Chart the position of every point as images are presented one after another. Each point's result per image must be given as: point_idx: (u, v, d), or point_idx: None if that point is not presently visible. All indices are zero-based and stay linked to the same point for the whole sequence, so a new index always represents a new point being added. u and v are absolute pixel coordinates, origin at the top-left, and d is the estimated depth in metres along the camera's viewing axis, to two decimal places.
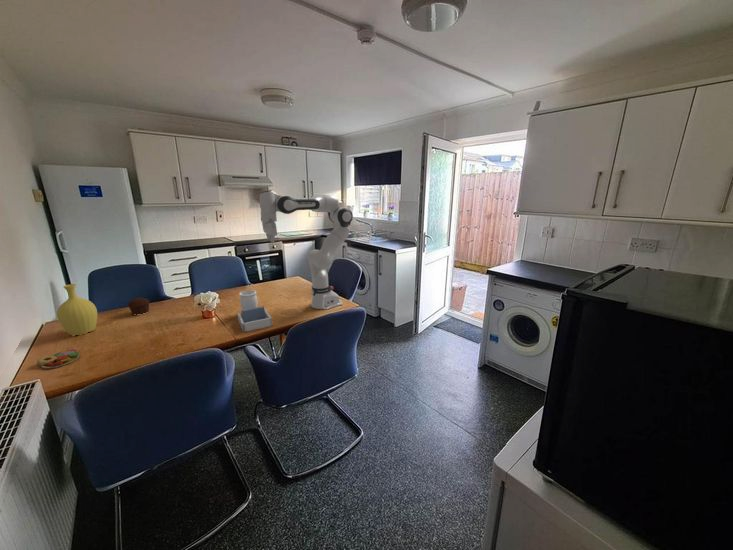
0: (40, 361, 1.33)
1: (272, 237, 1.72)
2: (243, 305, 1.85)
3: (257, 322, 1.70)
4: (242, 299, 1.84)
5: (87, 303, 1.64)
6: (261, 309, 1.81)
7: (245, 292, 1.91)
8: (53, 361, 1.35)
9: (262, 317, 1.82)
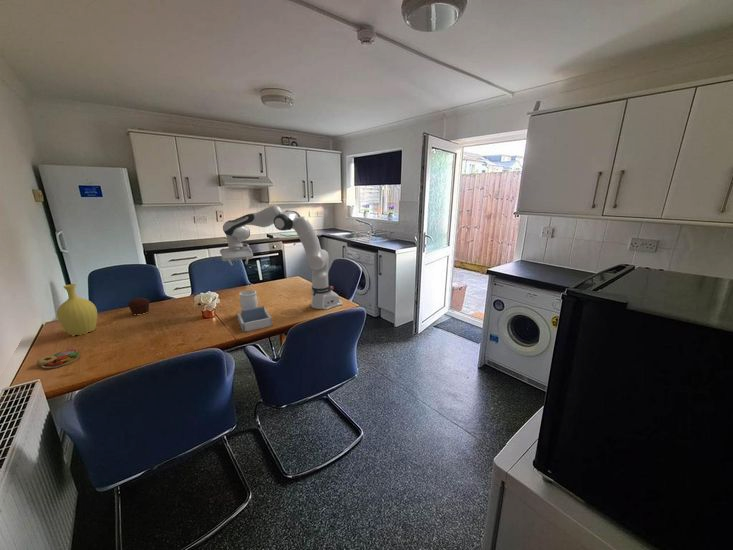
0: (40, 361, 1.33)
1: (228, 261, 2.00)
2: (243, 305, 1.85)
3: (257, 322, 1.70)
4: (242, 299, 1.84)
5: (87, 303, 1.64)
6: (261, 309, 1.81)
7: (245, 292, 1.91)
8: (53, 361, 1.35)
9: (262, 317, 1.82)
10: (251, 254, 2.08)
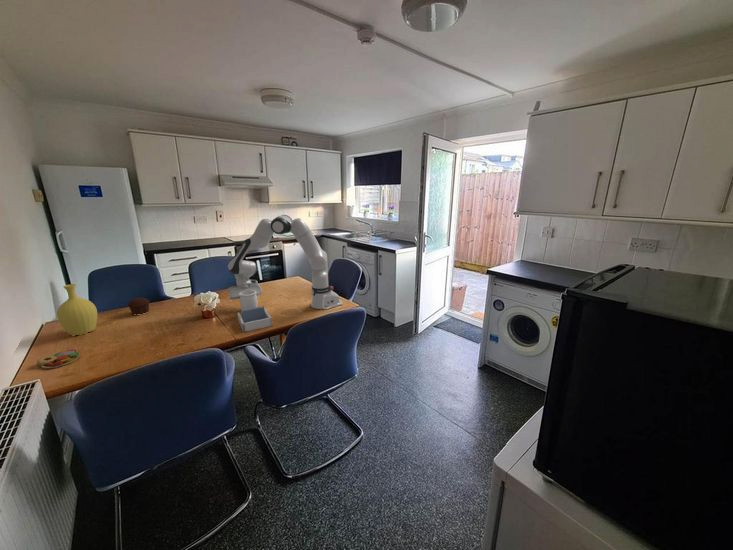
0: (40, 361, 1.33)
1: None
2: (243, 305, 1.85)
3: (257, 322, 1.70)
4: (242, 299, 1.84)
5: (87, 303, 1.64)
6: (261, 309, 1.81)
7: (245, 292, 1.91)
8: (53, 361, 1.35)
9: (262, 317, 1.82)
10: (260, 291, 2.00)
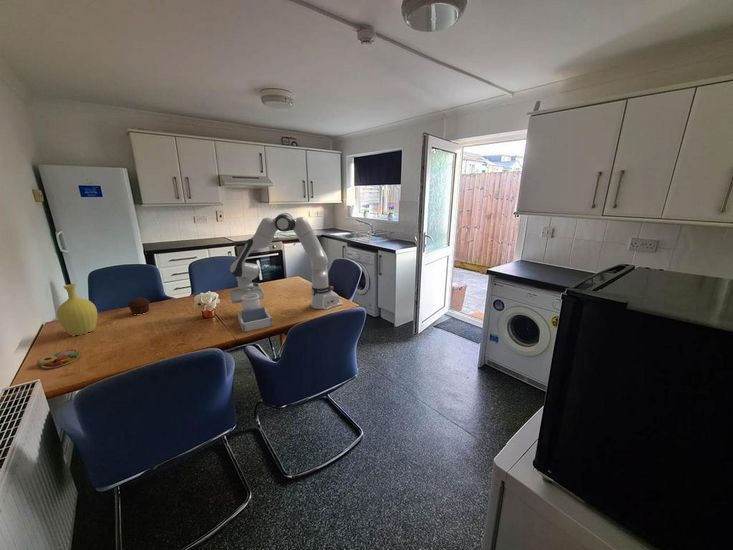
0: (40, 361, 1.33)
1: None
2: (246, 309, 1.78)
3: (257, 322, 1.70)
4: (245, 303, 1.77)
5: (87, 303, 1.64)
6: (261, 310, 1.80)
7: (246, 296, 1.84)
8: (53, 361, 1.35)
9: (262, 318, 1.81)
10: (262, 294, 1.93)
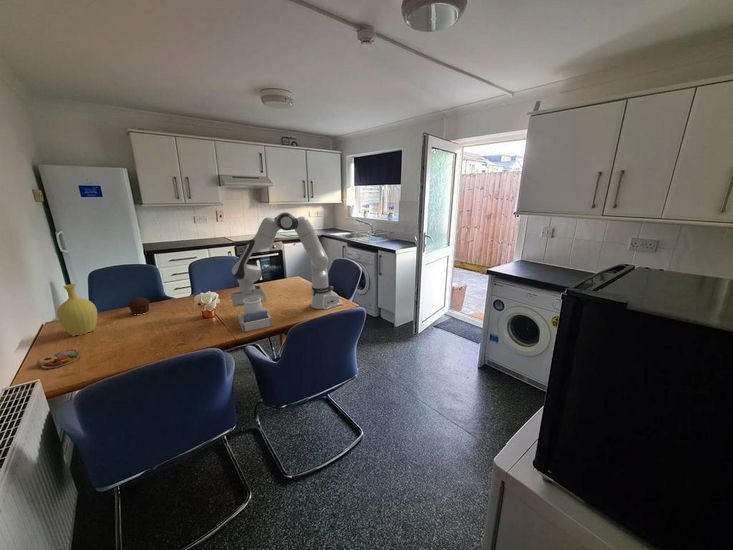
0: (40, 361, 1.33)
1: None
2: None
3: (257, 322, 1.70)
4: (247, 307, 1.72)
5: (87, 303, 1.64)
6: (264, 313, 1.74)
7: (248, 299, 1.79)
8: (53, 361, 1.35)
9: None
10: (264, 297, 1.88)
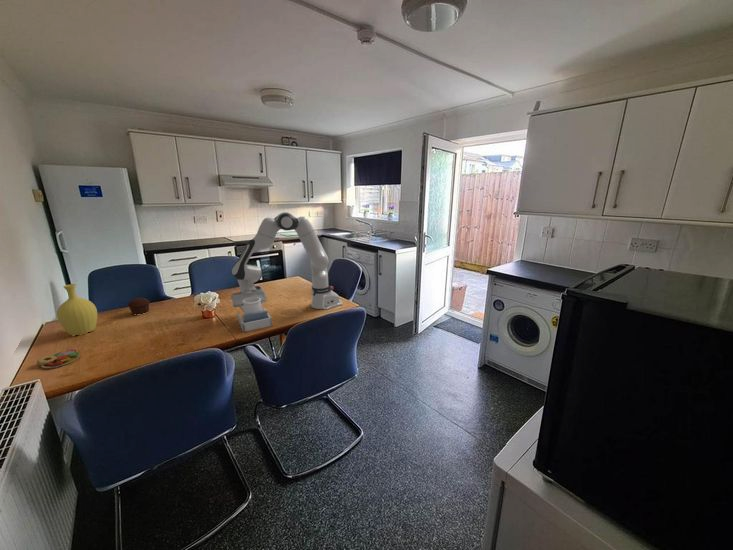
0: (40, 361, 1.33)
1: (240, 307, 1.80)
2: (248, 313, 1.72)
3: (257, 322, 1.70)
4: (247, 307, 1.71)
5: (87, 303, 1.64)
6: (264, 313, 1.74)
7: (247, 299, 1.78)
8: (53, 361, 1.35)
9: None
10: (265, 297, 1.87)
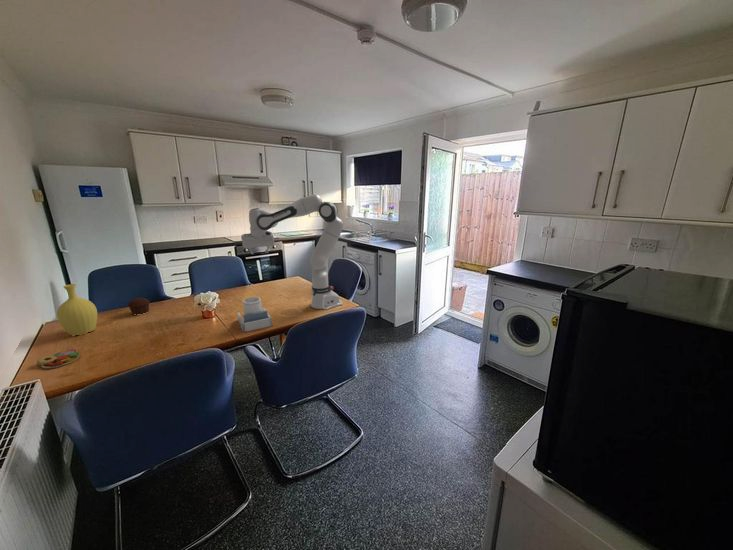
0: (40, 361, 1.33)
1: (249, 249, 1.94)
2: (248, 313, 1.72)
3: (257, 322, 1.70)
4: (247, 307, 1.71)
5: (87, 303, 1.64)
6: (264, 313, 1.74)
7: (247, 299, 1.78)
8: (53, 361, 1.35)
9: None
10: (273, 243, 1.99)
